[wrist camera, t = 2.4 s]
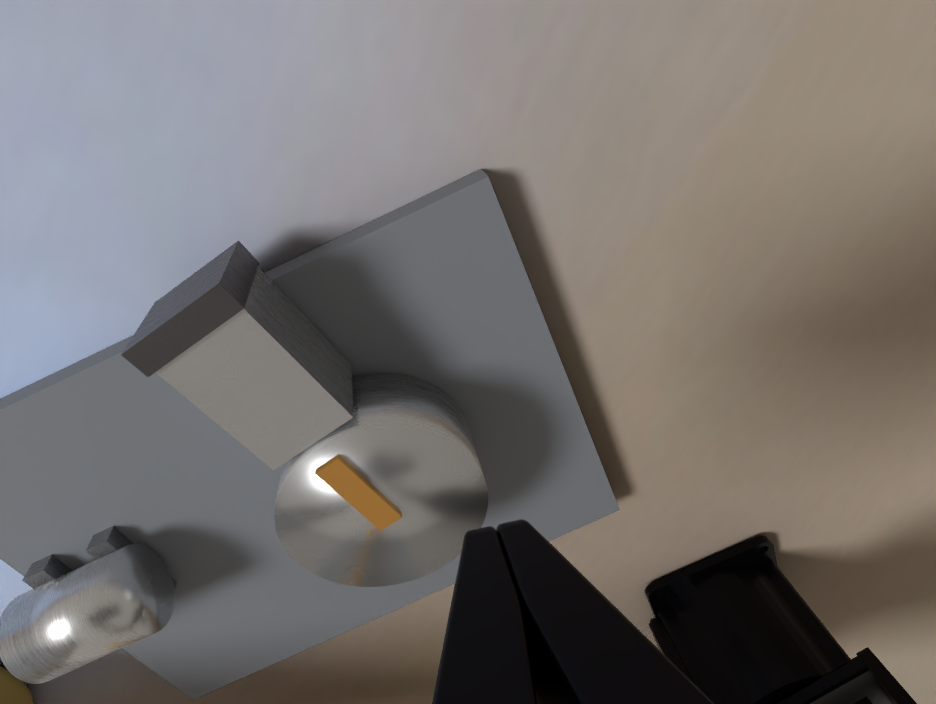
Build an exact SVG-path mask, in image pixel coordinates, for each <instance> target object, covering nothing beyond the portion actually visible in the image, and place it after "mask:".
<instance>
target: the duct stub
mask: <svg viewBox="0 0 936 704" xmlns="http://www.w3.org/2000/svg"><path fill="white" fill-rule="evenodd" d="M86 552H87V553H88V554H90V555H91V556H92V557H93V558H95V559H96V560H95V561H93V562H91V563H88V564H86V565H84V566H82V567H80V568H78V569H75V570H72V569H70V568H69V567H68V566H66V565H65V564H64V563H63V562H61V561H60V560H59V559H58V558H56V557H55V556H54V555H53V554H51V555H49V556H47V557H45V558H43V559H41V560H39V561H36V562H34V563H32V564H31V566H30V568H29V569H28V571H27V573H26V575H25V576H24V578H23V581H24V582H25V583H27V584H28V585H29V586H31V587H32V588H33V589H32V590H30V591H28V592H26V593H23V594H21V595H19V596H18V597H16V598H15V599H13V600H12V601H11V602H10V603H9V604H8V606H7V607H6V608H5V610H4V611H3V613H2V615H1V617H0V658H1V660H2V662H3V664H4V666H5V667H6V668H7V670H8V671H9V672H10V673H11V674H12V675H13V676H15V677H16V678H17V679H19V680H21V681H23V682H26V683H31V684H40V683H45V682H48V681H51V680H53V679H55V678H57V677H59V676H62V675H64V674H66V673H68V672H70V671H73V670H75V669H77V668H79V667H81V666H84V665H86V664H88V663H90V662H93V661H95V660H97V659H99V658H101V657H104V656H106V655H108V654H110V653H112V652H115V651H117V650H119V649H121V648H123V647H126V646H128V645H130V644H132V643H134V642H137V641H139V640H141V639H143V638H145V637H148V636H150V635H152V634H154V633H156V632H158V631H160V630H161V629H163V628H164V627H165V626H166V625H167V623H168V622H169V620H170V618H171V615H172V612H173V608H174V601H175V594H174V591H175V588H176V584H177V581H176V580H175V579H173V578H172V577H171V575H170V572H169V570H168V568H167V566H166V564H165V563H164V561H163V560H162V559H161V557H160V556H159V555H158V554H157V553H156V552H155V551H153V550H152V549H151V548H149V547H147V546H145V545H141V544H134V543H133V542H132V541H131V540H129V539H128V538H127V537H126V536H125V535H124V534H123V533H121V532H120V531H119V530H118V529H117V528H116V527H115V526H112V527H110V528H108V529H105V530H103V531H101V532H99V533H97V534H95V535H93V536H92V539H91V541H90V543H89V545H88V547H87V549H86Z"/></svg>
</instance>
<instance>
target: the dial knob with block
mask: <svg viewBox="0 0 936 704" xmlns="http://www.w3.org/2000/svg"><path fill="white" fill-rule="evenodd" d="M258 266H259V262H258V261H257V260H256V259H255V258H254V257H253V256H252V255H251V253H250V252H249V251H248V250H247V249H246V248H245V247H244V246H243V245H242V244H241V243H240V242H239V241H237V242H236V243H235V244H233V245H232V246H231V247H229V248H228V249H227V250H225V251H224V252H223V253H221V254H220V255H218V256H217V257H216V258H214V259H213V260H212V261H210V262H209V263H208V264H206V265H205V266H204V267H202V268H201V269H200V270H198V271H197V272H195V273H194V274H193V275H191V276H190V277H189V278H187V279H186V280H185V281H183V282H182V283H181V284H179V285H178V286H177V287H175V288H174V289H172V290H171V291H170V292H168V293H167V294H166V295H164V296H163V297H162V298H160V299H159V300H158V301H156V302H155V303H154V305H153V306H152V308H151V309H150V311H149V313H148V314H147V316H146V317H145V319H144V320H143V322H142V323H141V325H140V326H139V328H138V329H137V331H136V332H135V334H134V335H133V337H132V338H131V340H130V342H129V343H128V345H127V346H126V348H125V349H124V351H123V352H122V354H121V356H123V357H124V358H125V359H126V360H127V361H129V362H130V363H131V364H132V365H133V366H135V367H136V368H137V369H138V370H140V371H141V372H142V373H143V374H144V375H146V376H147V377H149V376H151V375H152V374H154V373H157V374H158V375H159V376H160V377H161V378H163V379H164V380H165V381H166V382H167V383H169V384H170V385H171V386H172V387H173V388H175V389H176V390H177V391H178V392H179V393H181V394H182V395H183V396H184V397H185V398H187V399H188V400H189V401H190V402H191V403H193V404H194V405H195V406H196V407H197V408H199V409H200V410H201V411H202V412H203V413H205V414H206V415H207V416H208V417H209V418H211V419H212V420H213V421H214V422H215V423H217V424H218V425H219V426H220V427H222V428H223V429H224V430H225V431H226V432H228V433H229V434H230V435H231V436H232V437H234V438H235V439H236V440H237V441H238V442H240V443H241V444H242V445H243V446H244V447H246V448H247V449H248V450H249V451H250V452H252V453H253V454H254V455H255V456H256V457H258V458H259V459H260V460H261V461H262V462H264V463H265V464H266V465H267V466H268V467H270V468H271V469H272V470H275V469H276V468H278V467H280V466H281V467H280V474H279V481H278V489H277V496H276V504H275V511H274V519H275V527H276V532H277V535H278V537H279V540H280V542H281V544H282V546H283V547H284V549H285V550H286V552H287V553H288V554H289V555H290V557H291V558H292V559H293V560H294V561H295V562H297V563H298V564H299V565H300V566H301V567H303V568H304V569H306V570H307V571H309V572H310V573H312V574H314V575H316V576H319V577H321V578H323V579H326V580H329V581H332V582H335V583H339V584H344V585H350V586H358V587H380V586H390V585H397V584H401V583H405V582H409V581H412V580H415V579H418V578H421V577H424V576H426V575H428V574H431V573H433V572H435V571H437V570H439V569H440V568H442V567H444V566H445V565H447V564H448V563H450V562H451V561H453V560H454V559H455V558H457V557H458V556H459V555H460V554H461V550H462V544H463V539H464V535H465V534H466V532H467V531H469V530H474V529H479V528H481V527H482V525H483V522H484V520H485V517H486V513H487V508H488V490H487V485H486V481H485V478H484V475H483V472H482V469H481V465H480V462H479V459H478V456H477V453H476V449H475V446H474V443H473V440H472V437H471V433H470V430H469V427H468V424H467V421H466V418H465V416H464V414H463V412H462V410H461V409H460V407H459V406H458V405H457V403H456V402H455V401H454V400H453V399H452V398H451V397H450V396H449V395H448V394H447V393H445V392H444V391H443V390H441V389H440V388H439V387H437V386H435V385H433V384H431V383H430V382H427V381H425V380H422V379H420V378H417V377H413V376H409V375H405V374H398V373H383V372H379V373H367V374H362V375H357V376H353V377H352V366H351V365H350V363H349V362H348V361H347V360H346V359H345V358H344V357H343V356H342V355H341V354H340V353H339V352H338V351H337V350H336V349H335V348H334V347H333V345H332V344H331V343H330V342H329V341H328V340H327V339H326V338H325V337H324V336H323V335H322V334H321V333H320V332H319V331H318V330H317V328H316V327H315V326H314V325H313V324H312V323H311V322H310V321H309V320H308V319H307V318H306V317H305V316H304V315H303V314H302V313H301V312H300V310H299V309H298V308H297V307H296V306H295V305H294V304H293V303H292V302H291V301H290V300H289V299H288V298H287V297H286V296H285V295H284V293H283V292H282V291H281V290H280V289H279V288H278V287H277V286H276V285H275V284H274V283H273V282H272V281H271V280H270V279H269V278H268V277H267V275H266V274H265V273H264V272H263V271H262V270H261V269H260V268H259V267H258Z"/></svg>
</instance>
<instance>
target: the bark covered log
mask: <svg viewBox="0 0 936 704" xmlns="http://www.w3.org/2000/svg"><path fill="white" fill-rule="evenodd" d="M0 704H34V702H33V698H32V695H31V692H30V690H29V689H28V687H27V686H26V685H25V684H24V682H23V681H21V680H19V679H17V678H16V677H15V676H13V675H12V674H11V673H10V672H9V671H8V670H6V669H4V668H2V667H0Z"/></svg>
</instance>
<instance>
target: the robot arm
mask: <svg viewBox="0 0 936 704" xmlns="http://www.w3.org/2000/svg"><path fill="white" fill-rule="evenodd" d="M645 594H646V597H647V599H648V602H649V604H650V607H651V609H652V611H653V614H654V616H655V618H652V619H651V620H650V623H649V626H650V629H651V631H652V633H653V636H654V638H655V641H656V643H657V645H658V648H659V649H658V648H657V647H656V646H655V645H654V644H653V643H652V642H651V641H650V640H648V639H647V638H646V637H645V636H644V635H643V634H642V633H641V632H640V631H639V630H638V629H637V628H636V627H635V626H634V625H633V624H632V623H631V622H630V621H629V620H628V619H627V618H626V617H625V616H624V615H623V614H622V613H621V612H620V611H619V610H618V609H617V608H616V607H615V606H614V605H613V604H612V603H611V602H610V601H609V600H608V599H607V598H606V597H605V596H604V595H603V594H602V593H601V592H599V591H598V590H597V589H596V588H595V587H594V586H593V585H592V584H591V583H590V582H589V581H588V580H587V579H586V578H585V577H584V576H583V575H582V574H581V573H580V572H579V571H578V570H577V569H576V568H575V567H574V566H573V565H572V564H571V563H570V562H569V561H568V560H567V559H566V558H565V557H564V556H563V555H562V554H561V553H560V552H559V551H558V550H557V549H556V548H555V547H554V546H553V545H552V544H550V543H549V542H548V541H547V540H546V539H545V538H544V537H543V536H542V535H541V534H540V533H539V532H538V531H537V530H536V529H535V528H534V527H533V526H532V525H531V524H530V523H529V522H528V521H526V520H523V519H521V520H516V521H511V522H506V523H502V524H499V525H498V526H497V528H496V529H495V528H494V527H492V526H488V527H483V528H479V529H474V530H469V531H467V532H466V534H465V535H464V539H463V544H462V550H461V555H460V560H459V565H458V571H457V576H456V581H455V587H454V592H453V597H452V602H451V608H450V613H449V618H448V623H447V629H446V634H445V639H444V644H443V650H442V655H441V660H440V666H439V671H438V676H437V681H436V687H435V692H434V697H433V702H432V704H917V703H916V702H915V701H914V700H913V699H912V698H911V696H910V695H909V694H908V693H907V692H906V691H905V689H904V688H903V687H902V686H901V685H900V684H899V683H898V681H897V680H896V679H895V678H894V677H893V676H892V675H891V673H890V672H889V671H888V670H887V669H886V668H885V667H884V665H883V664H882V663H881V662H880V661H879V660H878V658H877V657H876V656H875V655H874V654H873V653H872V652H871V650H870V649H869V648H868V647H867V648H865V649H863V650H862V651H860V652H858V653H856V654H857V657H855V658H853V659H850V658H849V657H848V655H847V654H846V653H845V651H844V650H843V649H842V648H841V646H840V645H839V644H838V643H837V641H836V640H835V639H834V638H833V636H832V635H831V634H830V633H829V631H828V630H827V629H826V628H825V626H824V625H823V624H822V623H821V621H820V620H819V619H818V618H817V616H816V615H815V614H814V612H813V611H812V610H811V609H810V607H809V606H808V605H807V604H806V602H805V601H804V600H803V599H802V597H801V596H800V595H799V594H798V592H797V591H796V590H795V589H794V587H793V586H792V585H791V584H790V582H789V581H788V580H787V579H786V577H785V576H784V575H783V573H782V572H781V571H780V570H779V568H778V567H777V562H776V557H775V552H774V546H773V544H772V543H771V541H770V540H769V539H768V538H767V537H766V536H759V537H756V538H754V539H752V540H749V541H747V542H745V543H742V544H740V545H738V546H736V547H733V548H731V549H729V550H726V551H724V552H722V553H720V554H717V555H715V556H713V557H710V558H708V559H706V560H704V561H701V562H699V563H697V564H695V565H692V566H690V567H688V568H685V569H683V570H681V571H679V572H676V573H674V574H672V575H669V576H667V577H665V578H663V579H660V580H658V581H656V582H654V583H651V584H650V585H648V586H647V587H646V589H645Z"/></svg>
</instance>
